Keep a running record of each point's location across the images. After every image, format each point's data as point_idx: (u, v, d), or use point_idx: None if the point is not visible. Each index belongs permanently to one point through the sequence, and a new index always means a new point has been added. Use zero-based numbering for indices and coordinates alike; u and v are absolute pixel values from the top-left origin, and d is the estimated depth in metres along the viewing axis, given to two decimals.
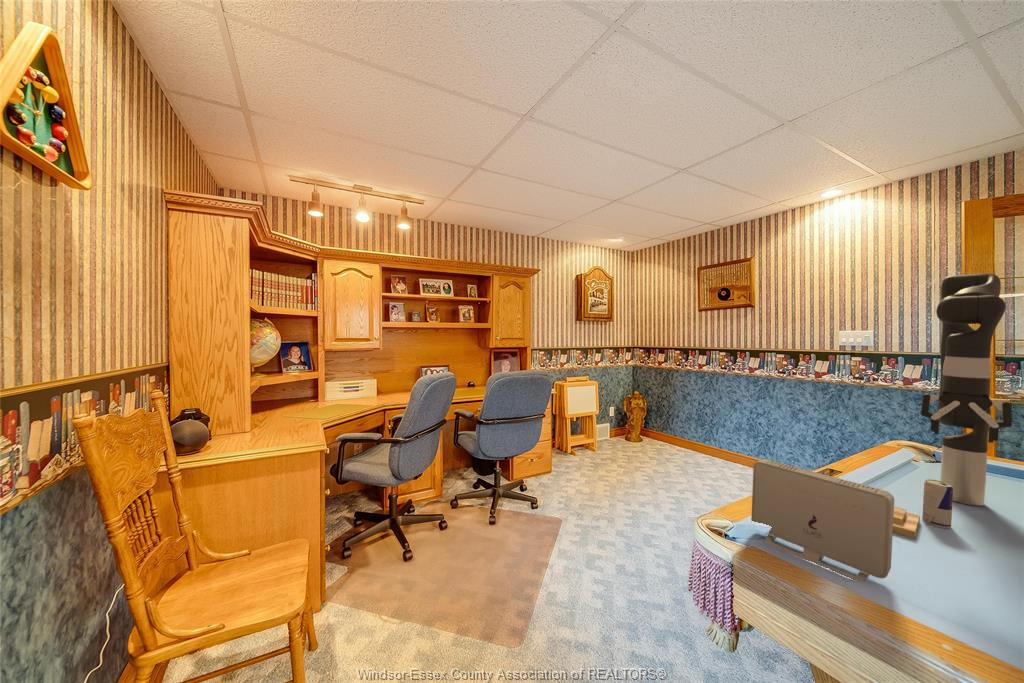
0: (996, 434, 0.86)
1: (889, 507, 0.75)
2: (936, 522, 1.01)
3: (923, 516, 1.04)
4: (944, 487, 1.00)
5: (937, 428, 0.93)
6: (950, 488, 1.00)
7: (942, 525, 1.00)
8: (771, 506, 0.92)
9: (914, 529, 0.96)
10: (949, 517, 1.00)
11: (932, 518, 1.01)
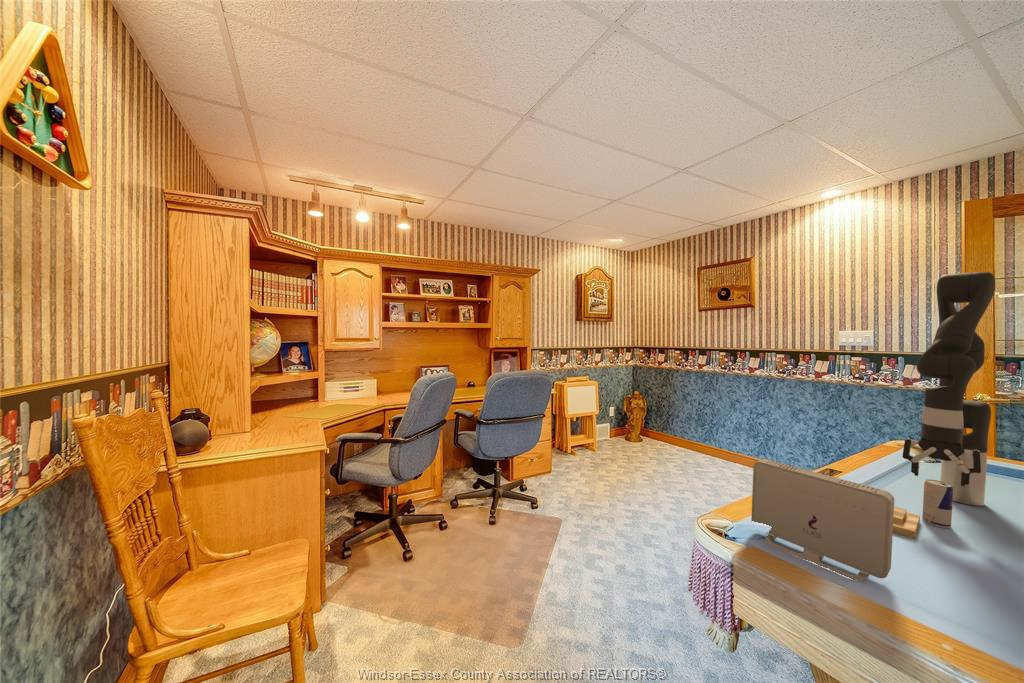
0: (967, 479, 0.97)
1: (889, 507, 0.75)
2: (936, 522, 1.01)
3: (923, 516, 1.04)
4: (944, 487, 1.00)
5: (916, 470, 1.04)
6: (950, 488, 1.00)
7: (942, 525, 1.00)
8: (771, 506, 0.92)
9: (914, 529, 0.96)
10: (949, 517, 1.00)
11: (932, 518, 1.01)
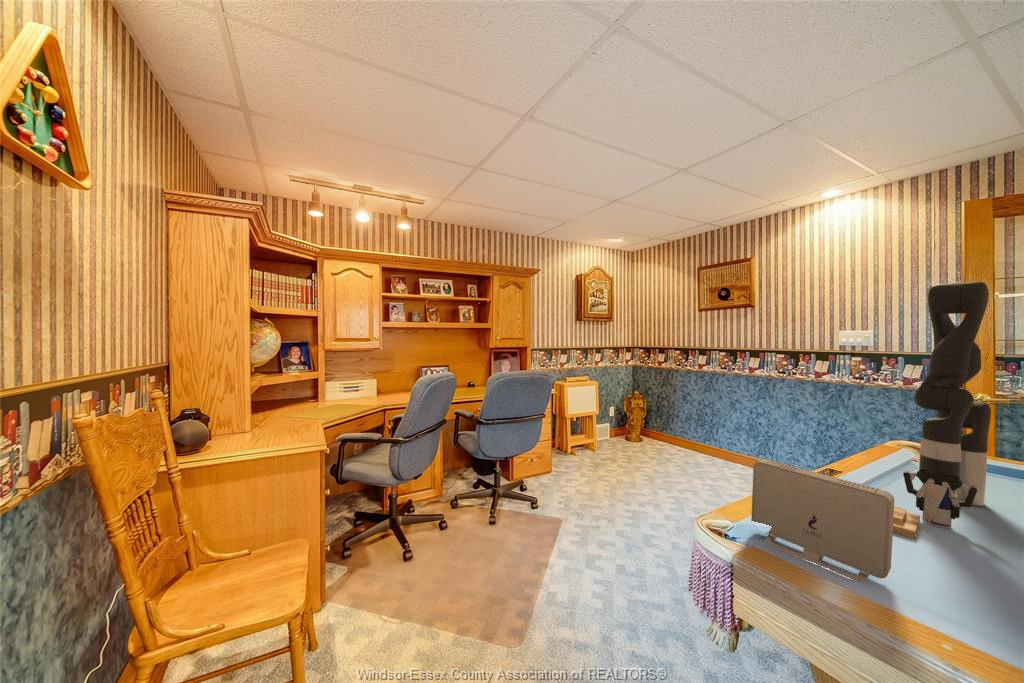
0: (958, 512, 0.99)
1: (889, 507, 0.75)
2: (936, 522, 1.01)
3: (923, 516, 1.04)
4: (944, 487, 1.00)
5: (921, 505, 1.04)
6: None
7: (942, 525, 1.00)
8: (771, 506, 0.92)
9: (914, 529, 0.96)
10: (949, 517, 1.00)
11: (932, 518, 1.01)
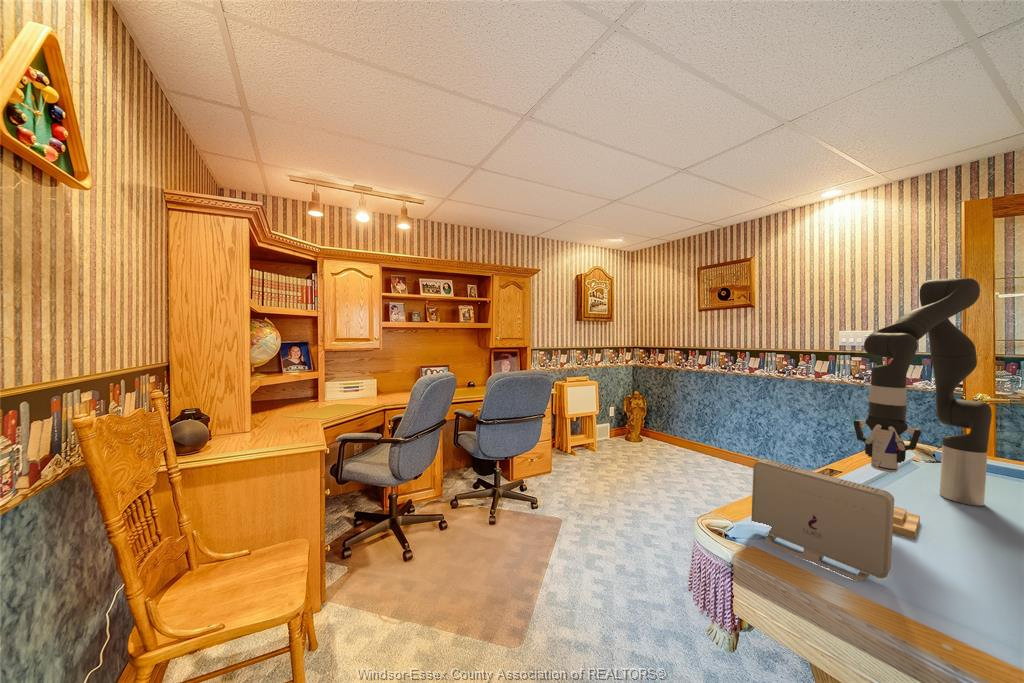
0: (903, 456, 1.00)
1: (889, 507, 0.75)
2: (883, 466, 1.02)
3: (871, 462, 1.05)
4: (890, 431, 1.01)
5: (870, 451, 1.05)
6: None
7: (888, 469, 1.01)
8: (771, 506, 0.92)
9: (914, 529, 0.96)
10: (895, 461, 1.01)
11: (879, 463, 1.03)
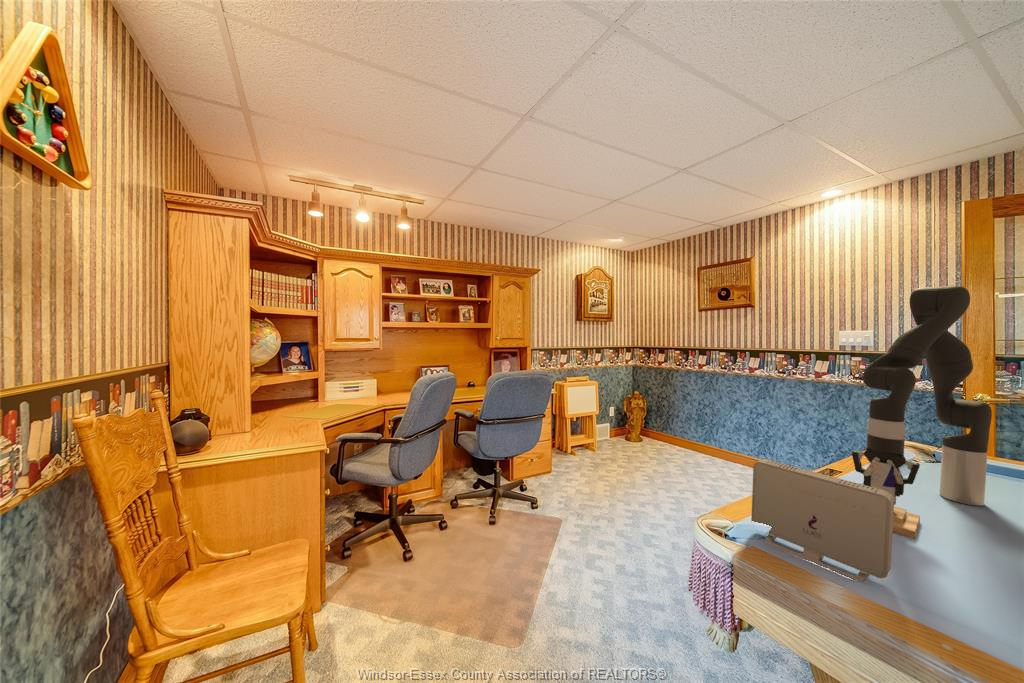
0: (901, 489, 1.00)
1: (889, 507, 0.75)
2: None
3: None
4: (888, 465, 1.01)
5: (868, 483, 1.05)
6: None
7: None
8: (771, 506, 0.92)
9: (914, 529, 0.96)
10: (893, 494, 1.01)
11: None
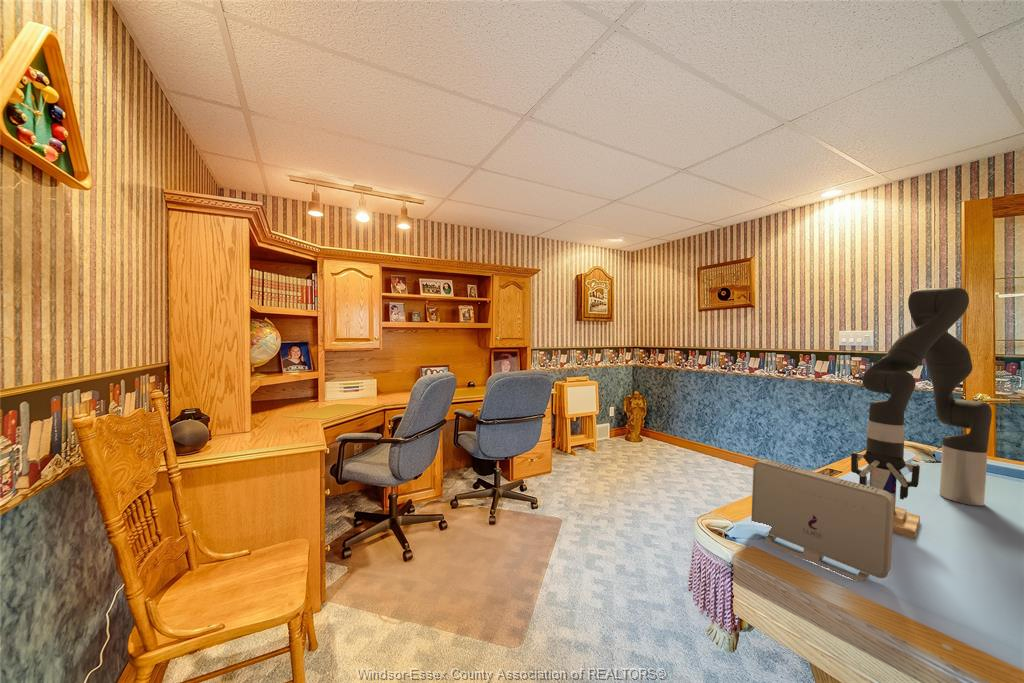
0: (906, 492, 1.00)
1: (889, 507, 0.75)
2: None
3: None
4: (887, 471, 1.02)
5: (864, 484, 1.06)
6: None
7: None
8: (771, 506, 0.92)
9: (914, 529, 0.96)
10: None
11: None
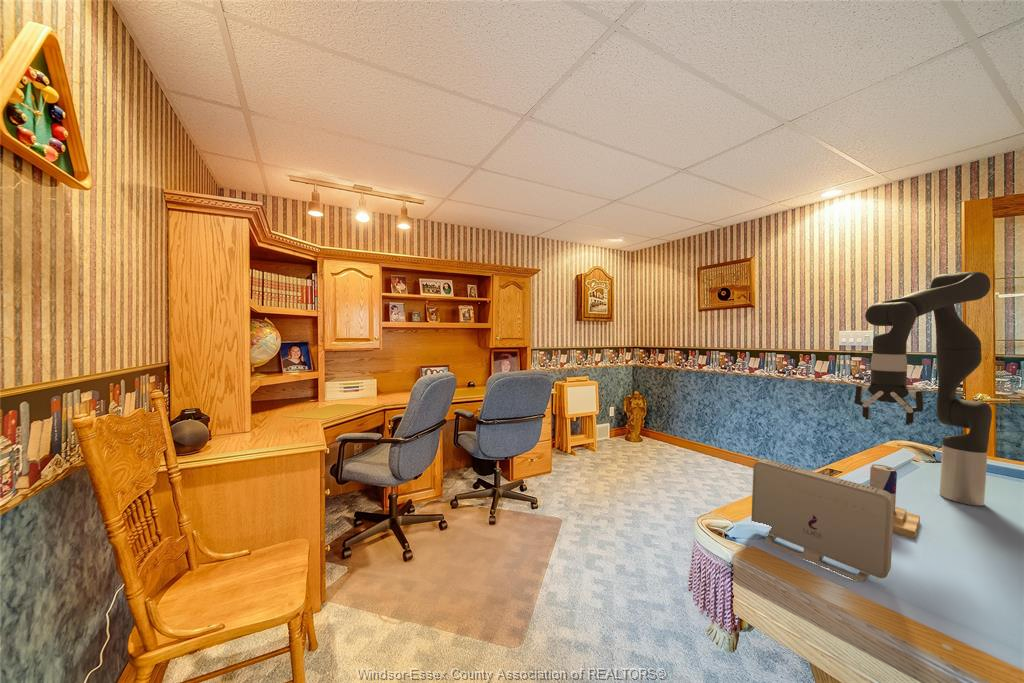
0: (911, 418, 1.04)
1: (889, 507, 0.75)
2: None
3: None
4: (888, 471, 1.02)
5: (867, 414, 1.11)
6: (893, 472, 1.01)
7: None
8: (771, 506, 0.92)
9: (914, 529, 0.96)
10: None
11: None
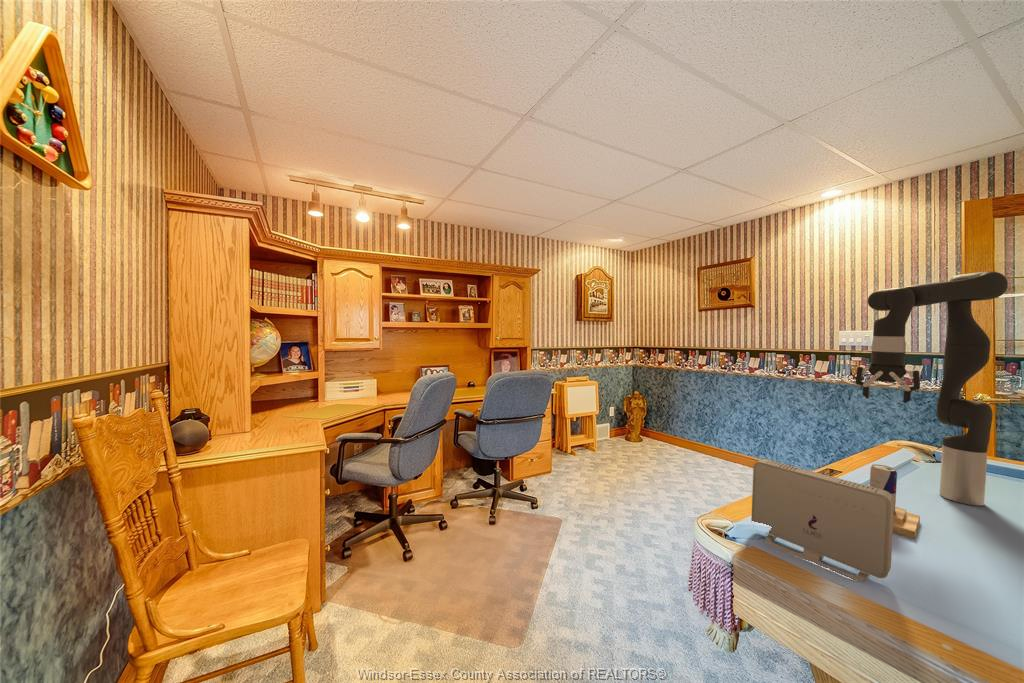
0: (909, 396, 1.11)
1: (889, 507, 0.75)
2: None
3: None
4: (888, 471, 1.02)
5: (867, 393, 1.18)
6: (894, 472, 1.01)
7: None
8: (771, 506, 0.92)
9: (914, 529, 0.96)
10: None
11: None
